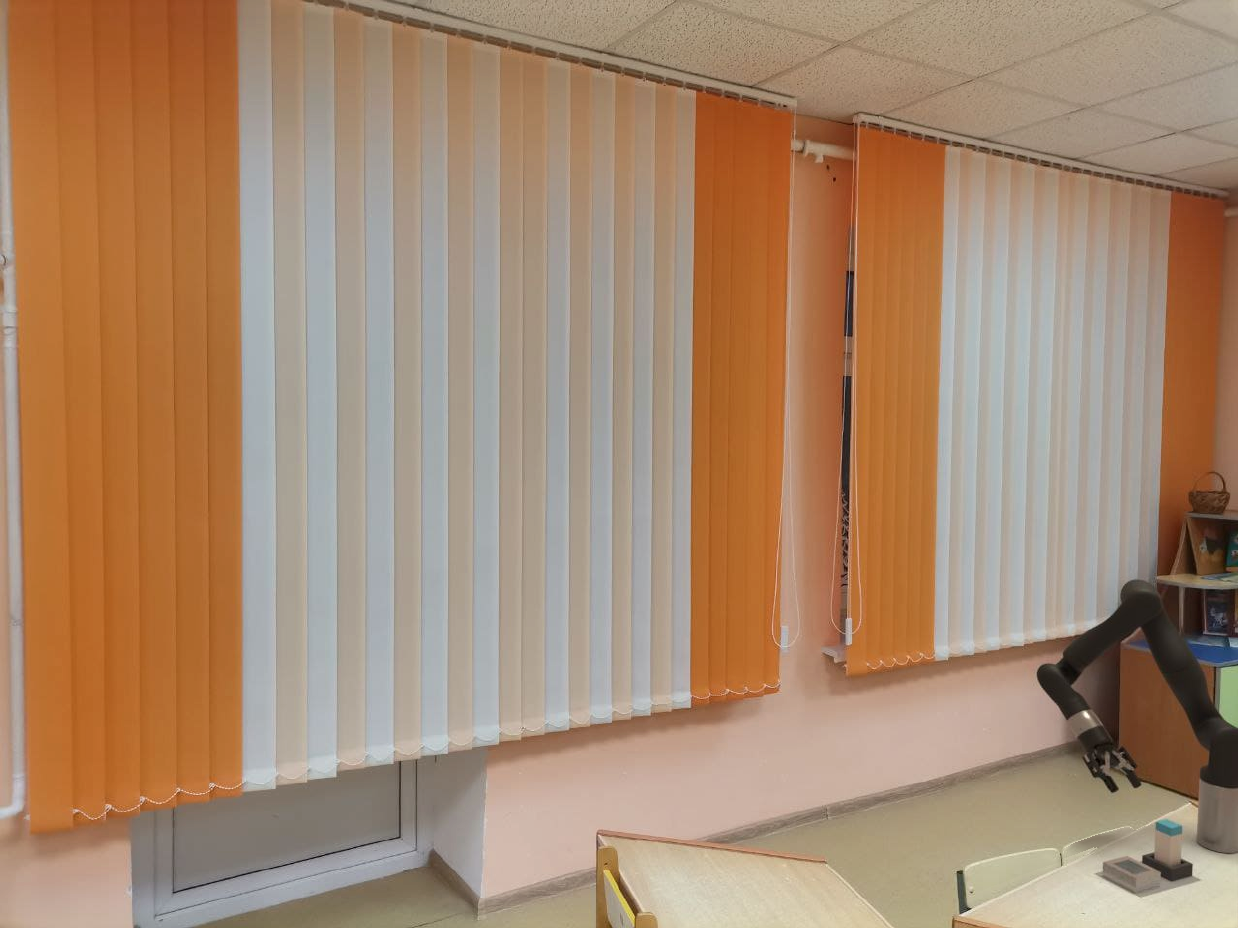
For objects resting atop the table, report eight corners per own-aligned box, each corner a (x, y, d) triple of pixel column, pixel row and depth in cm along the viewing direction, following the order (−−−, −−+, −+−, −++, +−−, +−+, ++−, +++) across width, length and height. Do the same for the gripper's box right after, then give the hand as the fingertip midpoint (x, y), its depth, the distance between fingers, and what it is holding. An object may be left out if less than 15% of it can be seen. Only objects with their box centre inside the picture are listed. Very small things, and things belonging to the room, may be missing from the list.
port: (1126, 869, 219) (1127, 855, 218) (1160, 886, 211) (1160, 871, 211) (1102, 875, 215) (1103, 861, 215) (1135, 893, 207) (1136, 878, 207)
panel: (1154, 861, 225) (1154, 857, 225) (1201, 883, 214) (1201, 879, 214) (1094, 877, 216) (1094, 873, 216) (1140, 901, 205) (1140, 897, 205)
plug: (1164, 866, 221) (1166, 818, 220) (1180, 873, 217) (1182, 825, 217) (1153, 868, 219) (1155, 821, 219) (1169, 876, 216) (1171, 828, 215)
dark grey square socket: (1162, 861, 223) (1162, 849, 223) (1192, 875, 216) (1192, 863, 216) (1141, 866, 220) (1142, 855, 220) (1171, 881, 213) (1172, 869, 213)
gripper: (1079, 727, 233) (1118, 786, 222) (1117, 721, 238) (1155, 778, 228) (1061, 740, 238) (1098, 799, 228) (1098, 734, 243) (1135, 791, 233)
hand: (1127, 789), depth 228 cm, fingers open, 8 cm apart
